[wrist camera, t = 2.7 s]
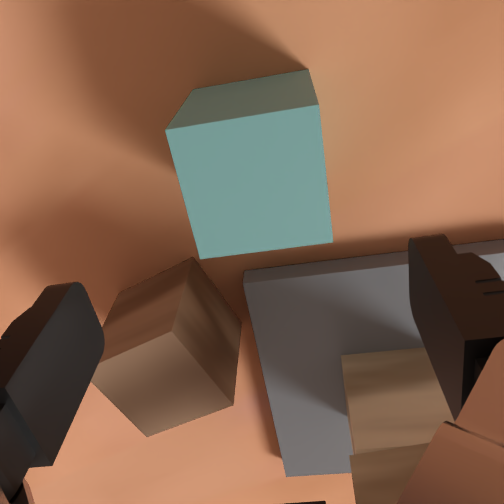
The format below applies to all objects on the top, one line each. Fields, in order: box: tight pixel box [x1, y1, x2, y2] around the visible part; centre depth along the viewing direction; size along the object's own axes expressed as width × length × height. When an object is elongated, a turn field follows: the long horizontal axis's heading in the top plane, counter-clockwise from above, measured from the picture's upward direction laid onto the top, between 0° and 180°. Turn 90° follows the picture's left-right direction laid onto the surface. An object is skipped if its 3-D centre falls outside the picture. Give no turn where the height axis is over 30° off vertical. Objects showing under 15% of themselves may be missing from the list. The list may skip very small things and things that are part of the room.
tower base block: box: [341, 347, 455, 455], centre depth 25 cm, size 5×5×6 cm
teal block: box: [165, 69, 333, 259], centre depth 19 cm, size 5×5×6 cm
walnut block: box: [91, 257, 242, 437], centre depth 24 cm, size 5×5×6 cm
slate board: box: [243, 239, 504, 477], centre depth 28 cm, size 16×14×1 cm
